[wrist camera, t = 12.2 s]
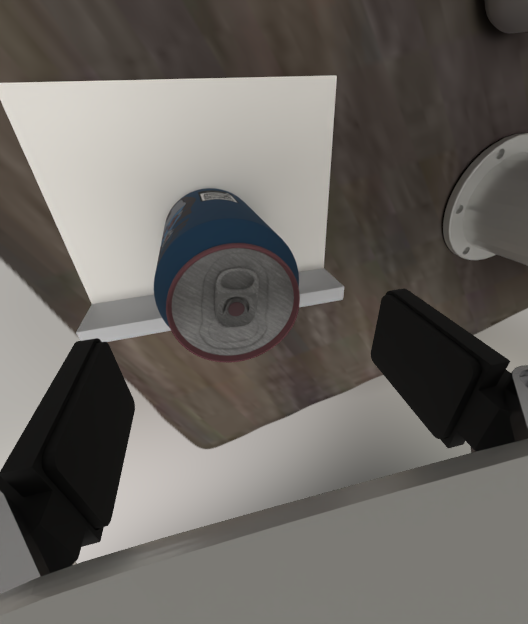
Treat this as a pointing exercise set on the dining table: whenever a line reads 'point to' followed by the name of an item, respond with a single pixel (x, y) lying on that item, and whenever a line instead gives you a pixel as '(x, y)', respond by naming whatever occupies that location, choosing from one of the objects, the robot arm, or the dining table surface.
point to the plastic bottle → (508, 15)
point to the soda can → (224, 278)
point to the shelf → (174, 174)
